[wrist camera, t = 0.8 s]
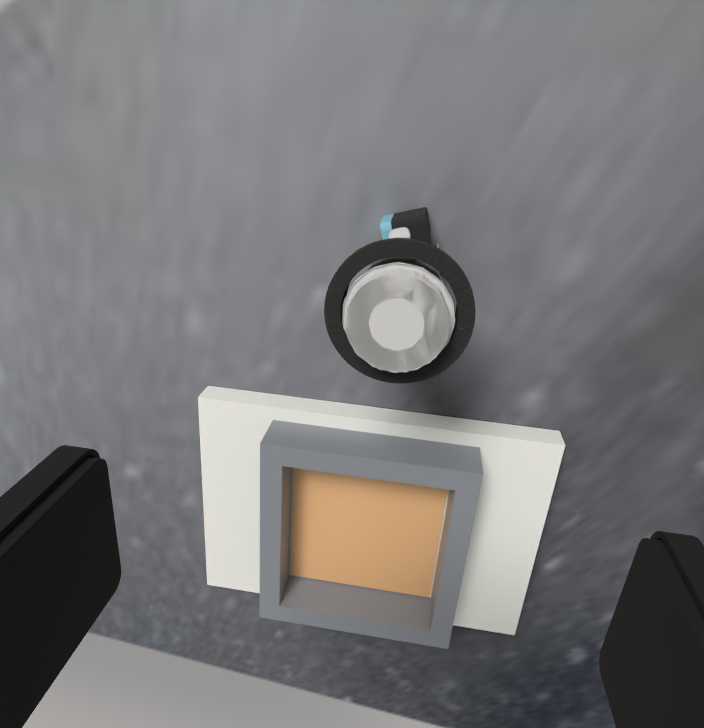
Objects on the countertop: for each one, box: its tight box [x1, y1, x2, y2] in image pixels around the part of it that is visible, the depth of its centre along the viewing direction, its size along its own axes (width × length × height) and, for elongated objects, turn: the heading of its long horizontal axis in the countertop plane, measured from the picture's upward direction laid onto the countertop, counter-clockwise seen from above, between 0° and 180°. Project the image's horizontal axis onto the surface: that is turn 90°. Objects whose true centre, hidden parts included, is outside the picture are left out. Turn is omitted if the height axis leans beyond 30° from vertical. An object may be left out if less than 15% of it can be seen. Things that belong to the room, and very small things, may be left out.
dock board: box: [198, 386, 565, 649], centre depth 33 cm, size 20×14×4 cm
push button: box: [324, 207, 475, 383], centre depth 24 cm, size 7×5×10 cm
